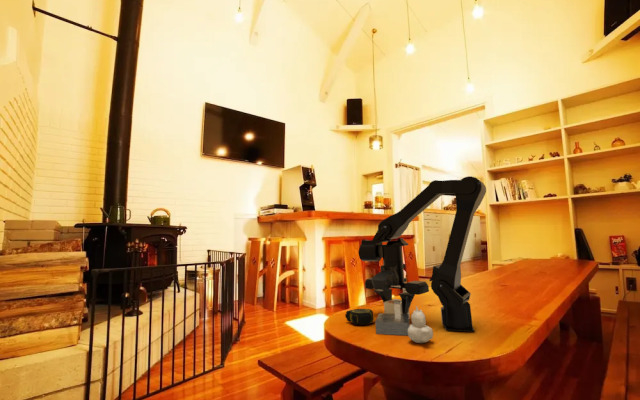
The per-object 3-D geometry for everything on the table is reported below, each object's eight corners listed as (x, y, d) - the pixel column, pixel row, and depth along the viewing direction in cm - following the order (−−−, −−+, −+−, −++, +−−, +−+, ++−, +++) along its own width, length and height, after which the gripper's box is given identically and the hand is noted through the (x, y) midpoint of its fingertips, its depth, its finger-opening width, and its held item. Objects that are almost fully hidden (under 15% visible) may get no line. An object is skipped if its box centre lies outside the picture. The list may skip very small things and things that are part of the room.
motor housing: (409, 325, 76) (407, 298, 77) (409, 335, 69) (406, 305, 70) (379, 324, 79) (377, 298, 80) (376, 333, 71) (374, 304, 72)
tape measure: (365, 319, 85) (364, 306, 86) (378, 325, 79) (377, 311, 79) (345, 322, 82) (344, 309, 83) (357, 328, 76) (356, 314, 77)
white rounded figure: (426, 337, 67) (422, 302, 68) (440, 347, 61) (436, 308, 62) (404, 339, 67) (401, 303, 68) (416, 349, 60) (412, 310, 61)
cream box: (395, 315, 87) (394, 297, 87) (409, 318, 83) (408, 299, 84) (385, 319, 83) (383, 300, 84) (399, 322, 79) (397, 302, 80)
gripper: (351, 262, 87) (355, 316, 84) (406, 265, 73) (411, 328, 71) (374, 260, 94) (377, 308, 92) (427, 261, 80) (432, 318, 78)
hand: (397, 315), depth 83 cm, fingers closed on cream box, 5 cm apart
